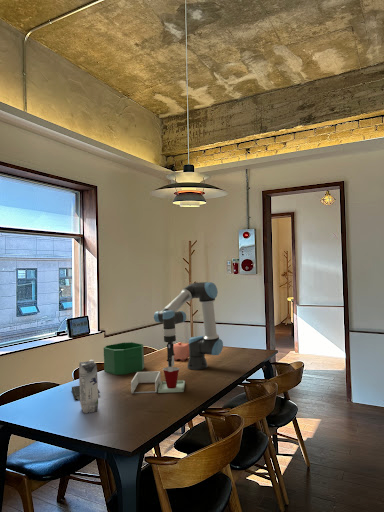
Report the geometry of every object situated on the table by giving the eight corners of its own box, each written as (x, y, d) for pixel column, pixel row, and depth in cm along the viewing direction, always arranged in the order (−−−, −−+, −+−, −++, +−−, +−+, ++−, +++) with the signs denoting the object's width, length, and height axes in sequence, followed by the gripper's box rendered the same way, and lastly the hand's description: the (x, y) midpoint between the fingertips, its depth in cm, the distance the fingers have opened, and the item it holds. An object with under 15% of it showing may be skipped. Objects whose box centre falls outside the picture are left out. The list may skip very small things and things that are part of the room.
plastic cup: (183, 385, 253) (182, 366, 253) (175, 390, 243) (174, 370, 244) (168, 383, 258) (168, 365, 258) (160, 388, 248) (159, 369, 249)
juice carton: (82, 414, 210) (80, 363, 211) (79, 408, 220) (78, 359, 221) (99, 411, 214) (97, 361, 214) (95, 405, 223) (94, 357, 224)
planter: (118, 376, 285) (117, 350, 286) (101, 370, 305) (100, 346, 305) (148, 369, 302) (147, 345, 303) (129, 363, 322) (129, 341, 322)
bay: (137, 382, 266) (137, 372, 266) (160, 381, 265) (160, 371, 266) (131, 393, 243) (130, 382, 243) (156, 392, 242) (156, 381, 243)
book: (71, 391, 255) (71, 386, 255) (95, 387, 260) (95, 383, 260) (74, 401, 234) (74, 396, 234) (100, 397, 240) (100, 392, 240)
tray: (161, 384, 259) (160, 381, 260) (184, 383, 259) (184, 380, 259) (158, 392, 242) (157, 389, 242) (183, 391, 241) (183, 388, 242)
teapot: (196, 358, 331) (195, 341, 331) (191, 361, 319) (190, 344, 319) (171, 357, 338) (170, 340, 338) (165, 361, 326) (165, 343, 326)
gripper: (165, 331, 264) (167, 363, 264) (161, 339, 239) (163, 374, 239) (176, 331, 264) (178, 363, 263) (174, 338, 239) (175, 373, 239)
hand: (171, 368), depth 251 cm, fingers open, 13 cm apart
